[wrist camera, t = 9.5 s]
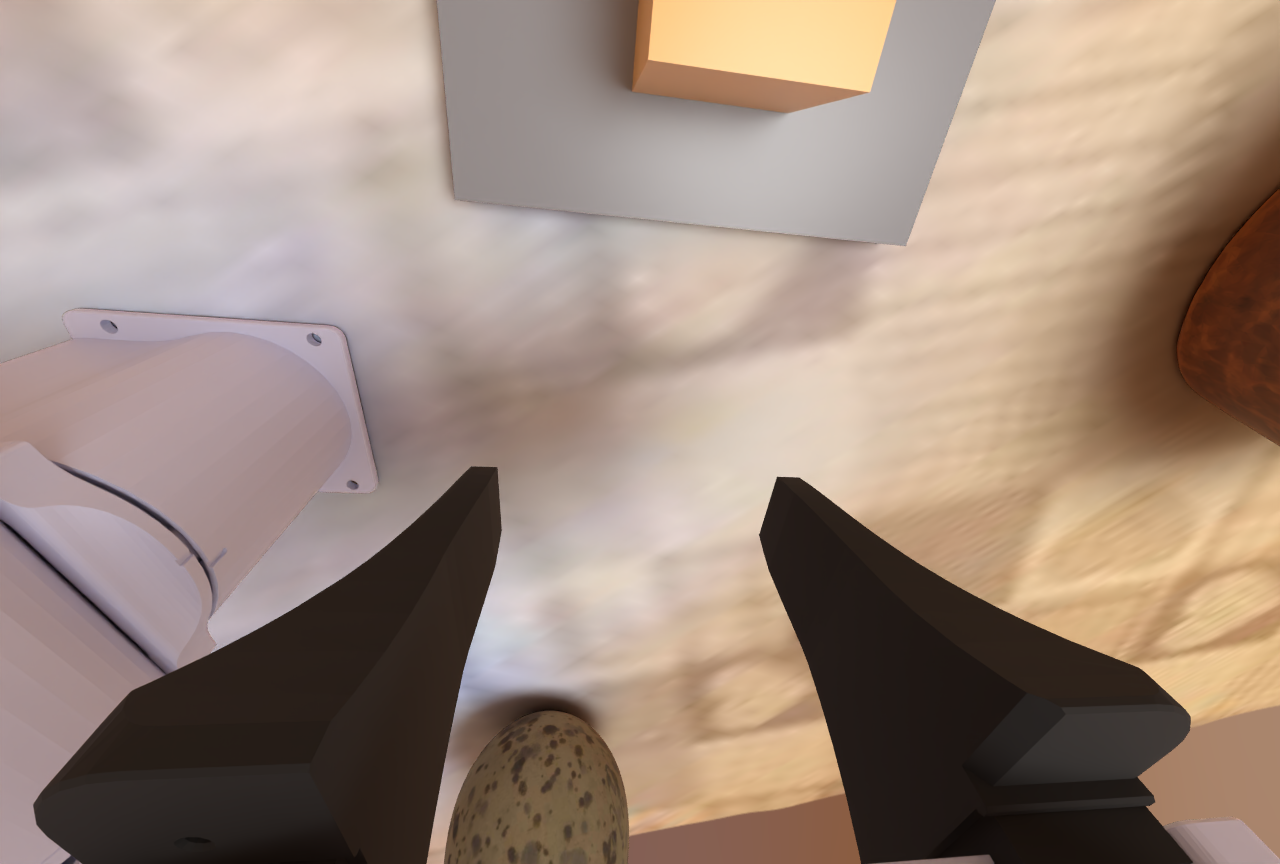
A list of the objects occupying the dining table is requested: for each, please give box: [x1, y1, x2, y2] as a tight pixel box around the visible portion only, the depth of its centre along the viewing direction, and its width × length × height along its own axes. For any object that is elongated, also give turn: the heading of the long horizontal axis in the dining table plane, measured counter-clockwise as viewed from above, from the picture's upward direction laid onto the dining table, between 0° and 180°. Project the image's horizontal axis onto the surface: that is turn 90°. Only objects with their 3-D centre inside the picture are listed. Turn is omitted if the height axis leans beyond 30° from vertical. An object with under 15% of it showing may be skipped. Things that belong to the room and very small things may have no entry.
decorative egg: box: [444, 711, 629, 864], centre depth 27 cm, size 11×11×15 cm
